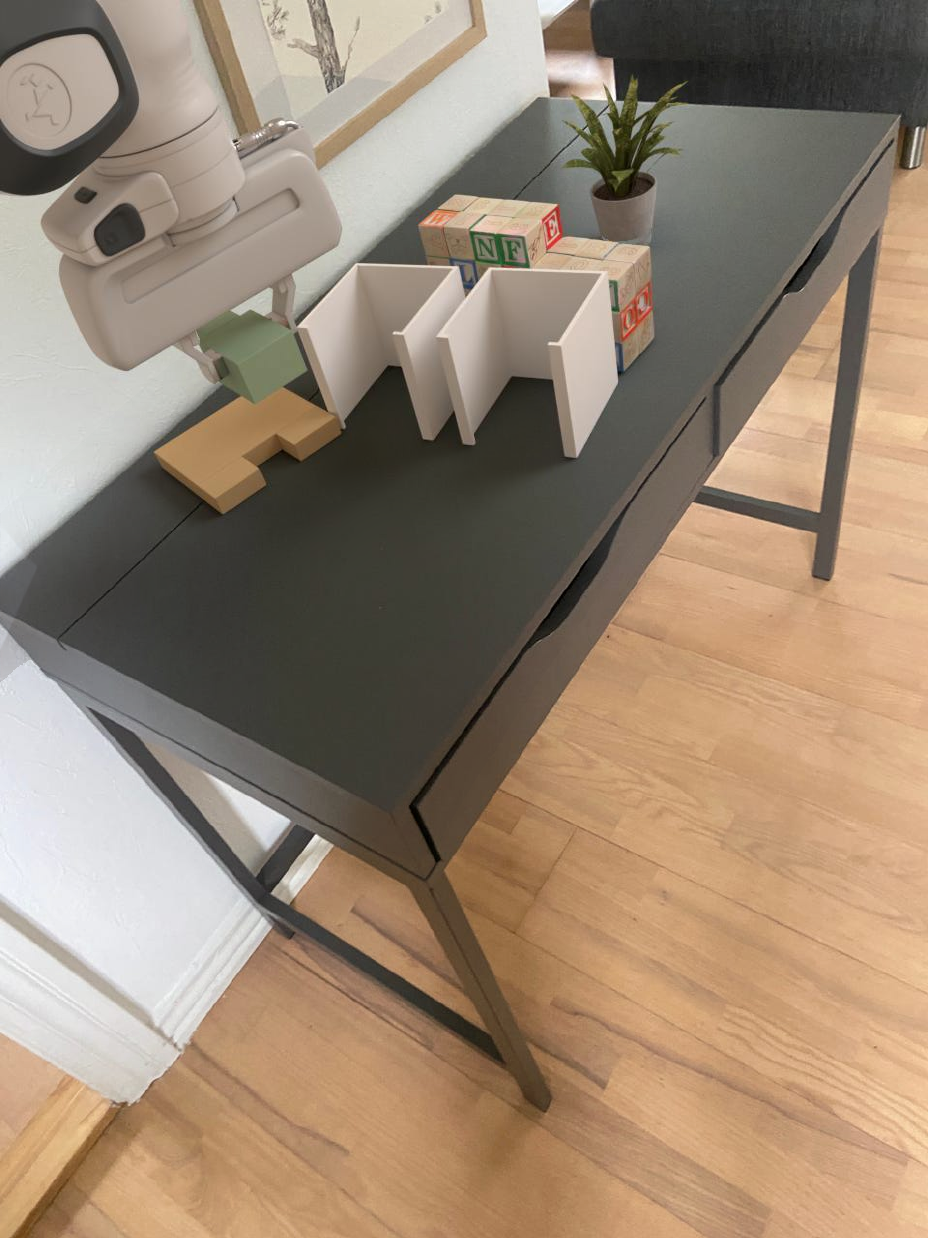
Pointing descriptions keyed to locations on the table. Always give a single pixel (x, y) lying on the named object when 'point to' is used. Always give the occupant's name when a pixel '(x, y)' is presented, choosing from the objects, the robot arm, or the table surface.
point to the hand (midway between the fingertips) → (252, 356)
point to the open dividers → (466, 342)
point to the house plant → (623, 165)
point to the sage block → (253, 353)
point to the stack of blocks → (542, 257)
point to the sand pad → (245, 445)
